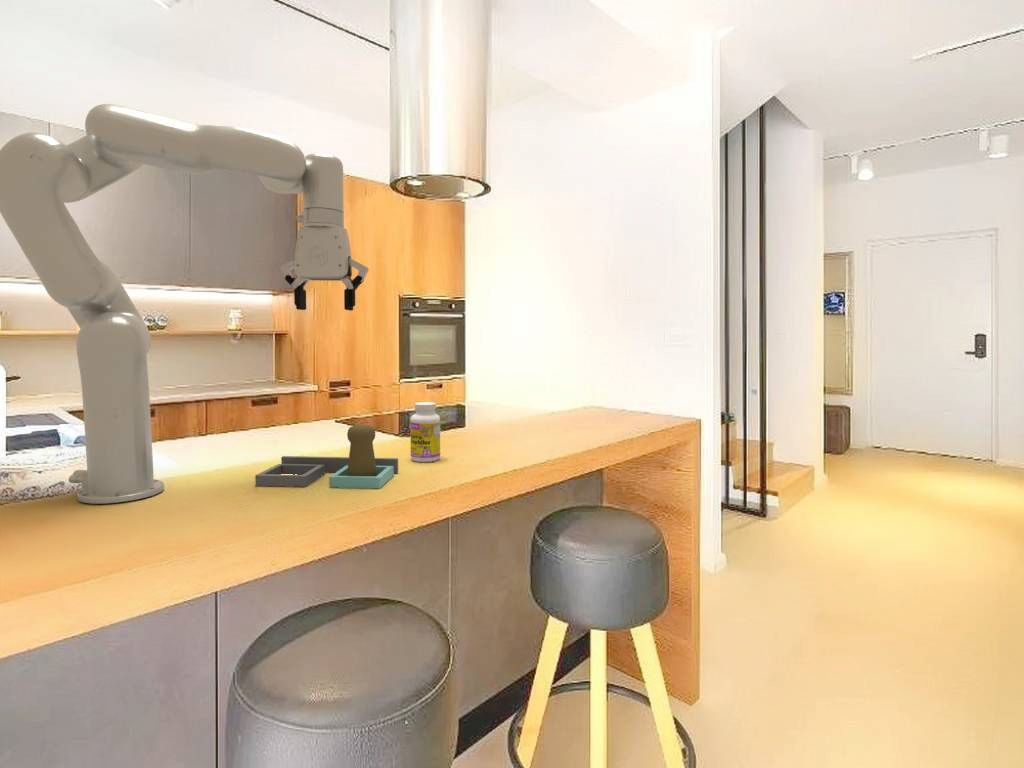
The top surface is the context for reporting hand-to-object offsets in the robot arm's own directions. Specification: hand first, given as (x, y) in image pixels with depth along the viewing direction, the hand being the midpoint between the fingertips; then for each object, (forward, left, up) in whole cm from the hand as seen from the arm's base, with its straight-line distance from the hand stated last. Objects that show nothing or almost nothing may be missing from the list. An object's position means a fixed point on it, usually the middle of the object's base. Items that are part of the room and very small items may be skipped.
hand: (325, 309), depth 114 cm
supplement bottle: (+17, +14, -33) cm, 40 cm away
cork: (+9, -6, -33) cm, 35 cm away
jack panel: (+2, -4, -33) cm, 33 cm away
